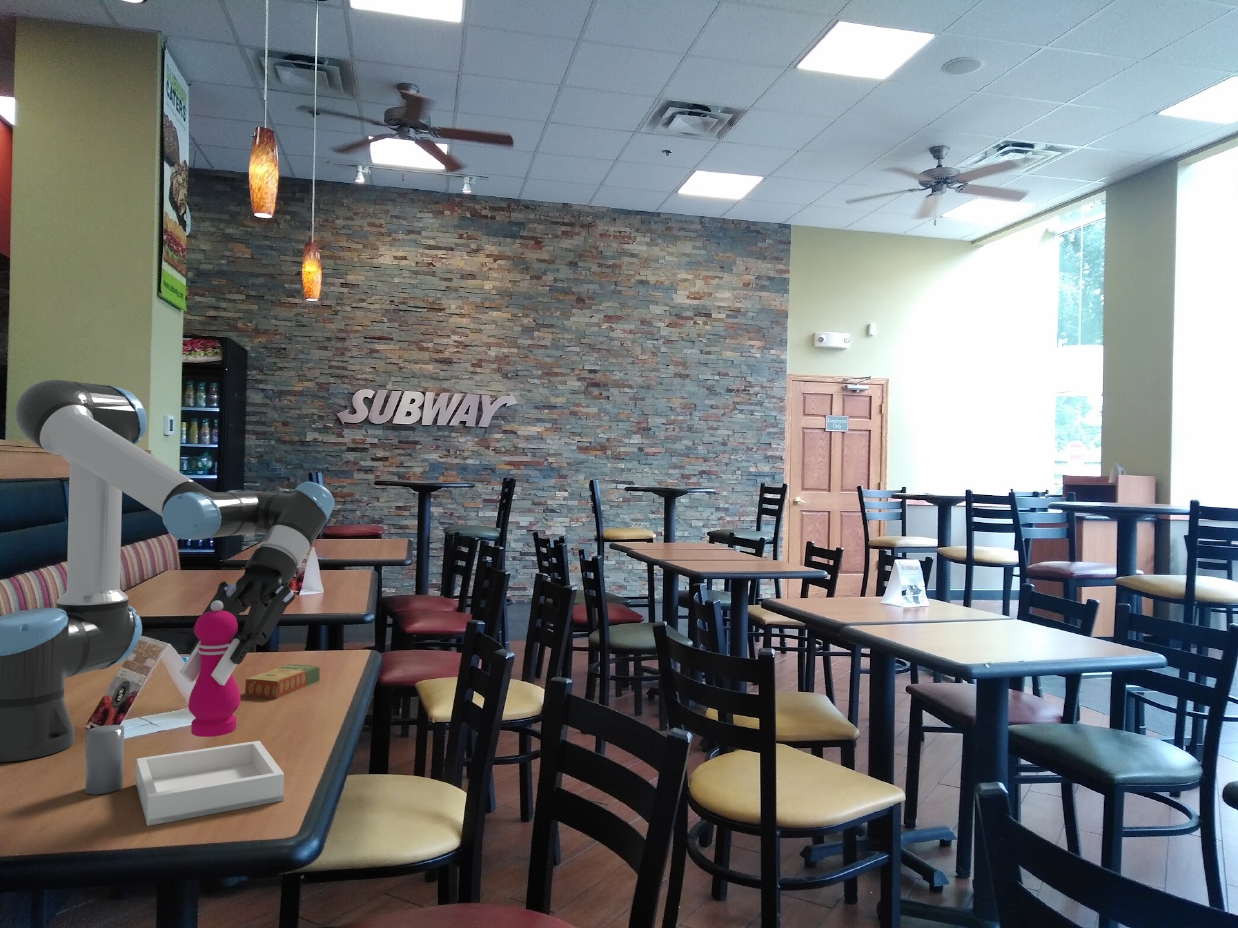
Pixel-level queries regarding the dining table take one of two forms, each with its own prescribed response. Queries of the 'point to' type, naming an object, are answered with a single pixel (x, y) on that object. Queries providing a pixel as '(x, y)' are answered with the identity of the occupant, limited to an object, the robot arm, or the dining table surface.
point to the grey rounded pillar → (104, 759)
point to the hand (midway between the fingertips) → (202, 678)
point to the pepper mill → (208, 695)
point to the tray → (207, 781)
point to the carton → (282, 681)
